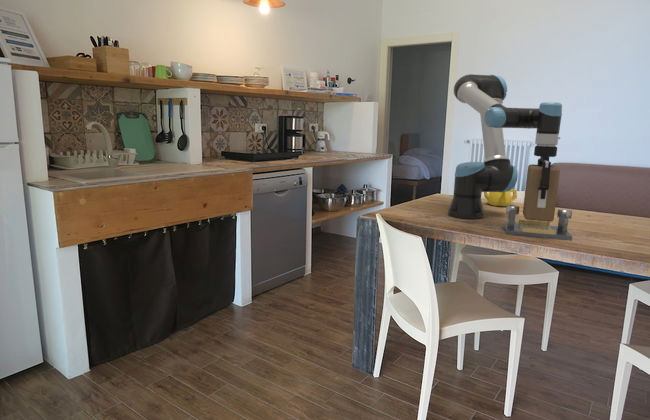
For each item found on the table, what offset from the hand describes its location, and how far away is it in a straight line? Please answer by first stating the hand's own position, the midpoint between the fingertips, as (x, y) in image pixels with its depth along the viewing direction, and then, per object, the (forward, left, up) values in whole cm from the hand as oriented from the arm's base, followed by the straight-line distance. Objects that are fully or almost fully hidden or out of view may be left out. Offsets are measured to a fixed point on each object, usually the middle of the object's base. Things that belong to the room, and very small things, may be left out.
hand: (539, 204), depth 172 cm
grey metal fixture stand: (0, 0, -11) cm, 11 cm away
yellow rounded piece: (-11, +54, -11) cm, 56 cm away
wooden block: (0, 0, -5) cm, 5 cm away
